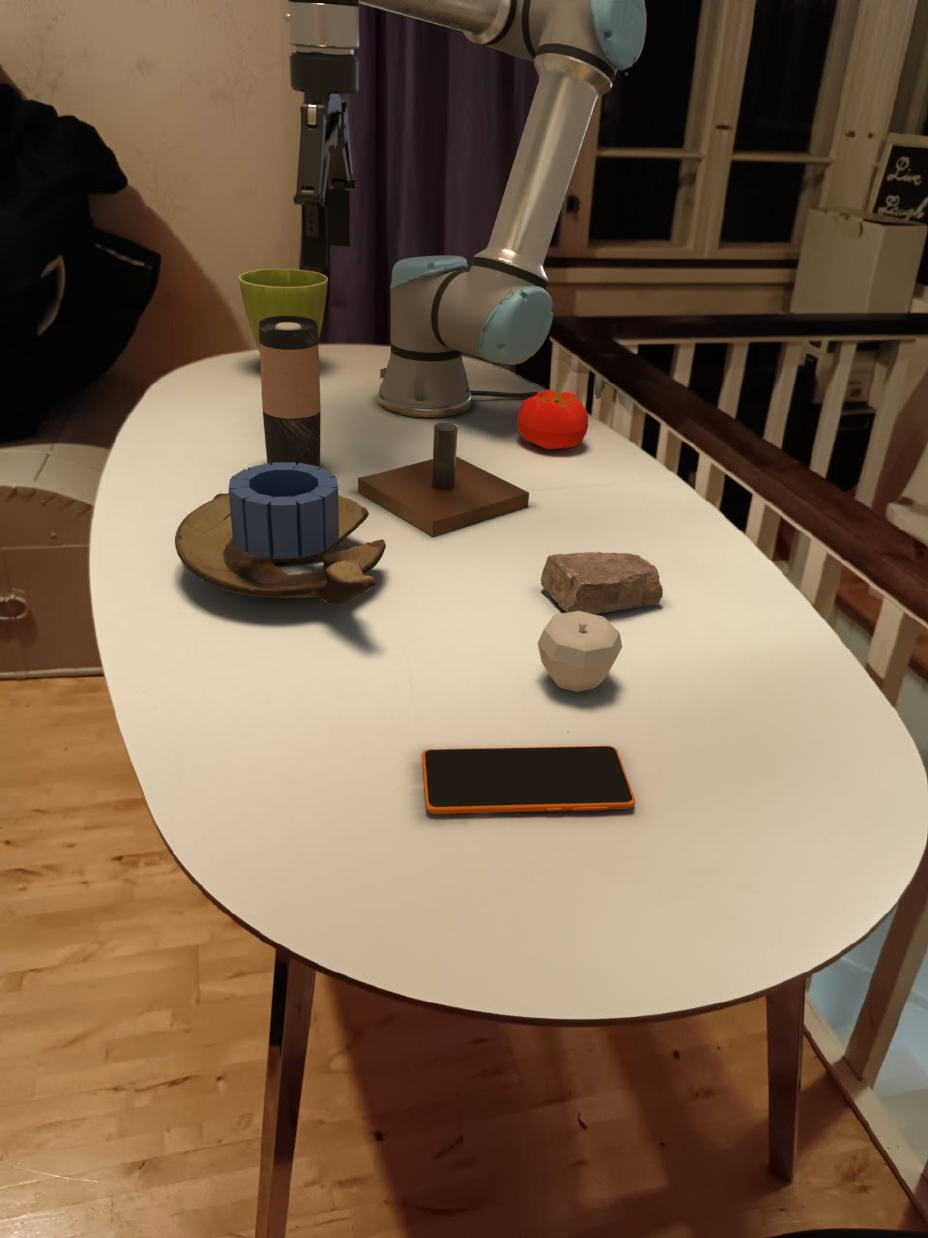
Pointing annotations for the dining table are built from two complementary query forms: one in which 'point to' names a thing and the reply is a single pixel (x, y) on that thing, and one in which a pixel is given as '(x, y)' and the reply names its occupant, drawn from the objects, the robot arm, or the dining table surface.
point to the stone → (601, 581)
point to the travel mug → (290, 389)
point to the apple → (579, 649)
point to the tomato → (553, 420)
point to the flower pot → (283, 295)
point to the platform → (443, 489)
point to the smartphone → (525, 779)
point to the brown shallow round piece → (232, 569)
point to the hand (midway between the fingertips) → (328, 255)
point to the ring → (284, 510)
